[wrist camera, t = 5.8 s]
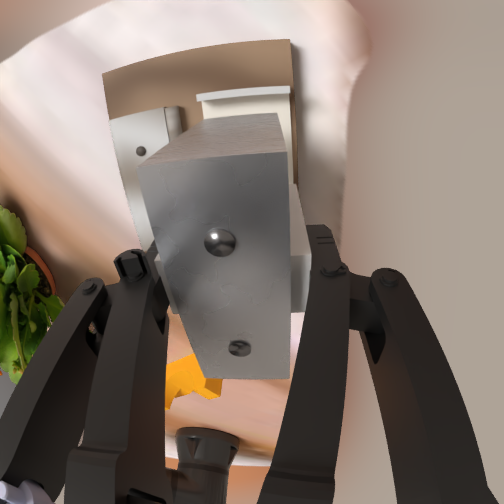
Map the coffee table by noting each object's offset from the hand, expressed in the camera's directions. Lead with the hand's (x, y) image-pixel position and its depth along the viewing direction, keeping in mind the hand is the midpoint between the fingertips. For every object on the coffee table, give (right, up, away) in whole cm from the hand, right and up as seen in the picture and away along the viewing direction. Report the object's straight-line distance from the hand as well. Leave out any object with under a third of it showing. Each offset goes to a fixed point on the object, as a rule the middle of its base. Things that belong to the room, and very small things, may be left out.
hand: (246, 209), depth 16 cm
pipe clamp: (-8, -18, +22) cm, 30 cm away
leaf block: (0, +1, +1) cm, 2 cm away
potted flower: (-29, -6, +15) cm, 34 cm away
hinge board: (-3, +4, +6) cm, 8 cm away
